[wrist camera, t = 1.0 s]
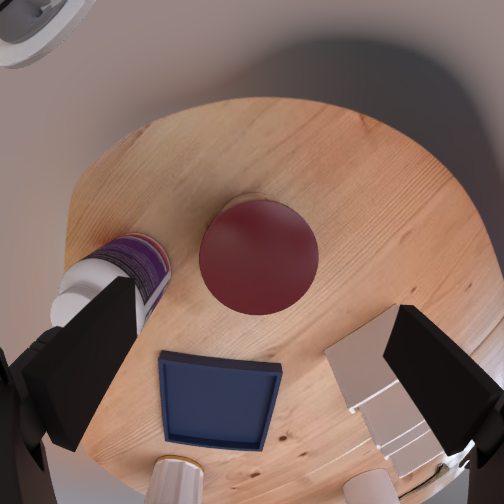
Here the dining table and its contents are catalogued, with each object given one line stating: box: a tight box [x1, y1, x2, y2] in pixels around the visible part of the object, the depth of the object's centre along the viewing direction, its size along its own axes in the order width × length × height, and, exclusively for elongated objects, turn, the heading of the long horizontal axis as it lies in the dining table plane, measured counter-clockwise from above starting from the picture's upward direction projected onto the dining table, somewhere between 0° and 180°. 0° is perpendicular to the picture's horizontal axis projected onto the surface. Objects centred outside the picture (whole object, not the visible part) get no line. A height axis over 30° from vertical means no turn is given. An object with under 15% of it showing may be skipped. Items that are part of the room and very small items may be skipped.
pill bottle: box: [51, 233, 171, 337], centre depth 25 cm, size 8×8×14 cm
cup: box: [144, 456, 204, 504], centre depth 33 cm, size 11×11×17 cm
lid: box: [199, 198, 318, 315], centre depth 21 cm, size 8×8×2 cm
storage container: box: [324, 304, 444, 478], centre depth 32 cm, size 25×11×11 cm, turn 33°
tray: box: [158, 350, 283, 452], centre depth 36 cm, size 17×15×2 cm
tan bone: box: [398, 464, 450, 500], centre depth 50 cm, size 9×20×2 cm, turn 154°
